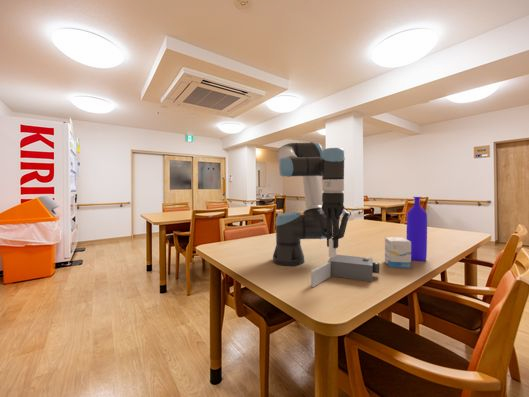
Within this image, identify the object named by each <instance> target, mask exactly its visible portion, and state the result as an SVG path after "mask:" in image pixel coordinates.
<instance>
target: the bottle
mask: <svg viewBox="0 0 529 397" xmlns="http://www.w3.org/2000/svg"><path fill="white" fill-rule="evenodd" d="M412 197H413V199H414V205H413V206H412V207H411V208H410V209H409V210H408V211H407V214H406V239H407V240H409V241H410V242H411V261H414V262H425V261H426V260H427V253H428V252H427V251H428V214H427V212H426V210H425V209H424V208H423V207H422V206H421V204H420V199H421V196H412Z"/></svg>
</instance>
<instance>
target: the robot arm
mask: <svg viewBox="0 0 529 397" xmlns="http://www.w3.org/2000/svg"><path fill="white" fill-rule="evenodd" d="M276 159H277V161H278V163H279V164H278V169H279V170H278V171H279V175H280V176H281V177H287V178H290V177H302V183H303V193H304V202H305V203H304V204H305V209H304V211H303V212H302V214H301V212H300V211H289V212H283V213H280V214H278V215H277V216H276V217H275V235H276V236H275V241H276V242H275V244H276V245H275V248H274V251H273V254H272V262H273V263H274V264H277V265H280V266H287V267H288V266H289V267H293V266H298V265H301V264H304V262H305V255H304V252H303V248H302V245H301V240H325V239H326V247H327V248H328V258H330V257H332V258H333V257H335V256H336V255H337V249H338V248H339V240H340V239H343V238H344V237H345V234H346V229H347V225H348V221H349V218H350V217H351V215H352V213H351V212H350V211H347V210H346V209H345V205H344V203H345V202H344V201H345V200H344V199H345V194H344V191H345V159H346V158H345V150H344V149H343V148H342V147H328V148H324V149H323V148H322V145H321V143H319V142H313V141H310V142H289V143H286V144H284V145H282V146H280V147H279V149H278V150H277V151H276ZM320 177H322V178H320ZM320 179H322V180H320ZM321 182H322V183H321ZM321 185H322V186H321ZM341 216H342V217H341Z"/></svg>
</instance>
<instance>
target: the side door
mask: <svg viewBox="0 0 529 397" xmlns="http://www.w3.org/2000/svg"><path fill="white" fill-rule="evenodd" d="M329 278H332V276H331V262H328V261H327V262H326V263H322V265H320V266H317V267H316V268H314V269H312V270H311V271H310V287H312V288H314V287H316V286H318V285H319V284H321V283H322V282H324V281H326V280H327V279H329Z"/></svg>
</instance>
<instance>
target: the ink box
mask: <svg viewBox="0 0 529 397" xmlns="http://www.w3.org/2000/svg"><path fill="white" fill-rule="evenodd" d="M384 262H385V264H386V265H388V266H389V267H390V268H399V269H400V268H401V269H411V268H412V260H411V242H410V241H409V240H407V238H405V237H398V236H397V237H395V236H391V237H390V236H389V237H384Z"/></svg>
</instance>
